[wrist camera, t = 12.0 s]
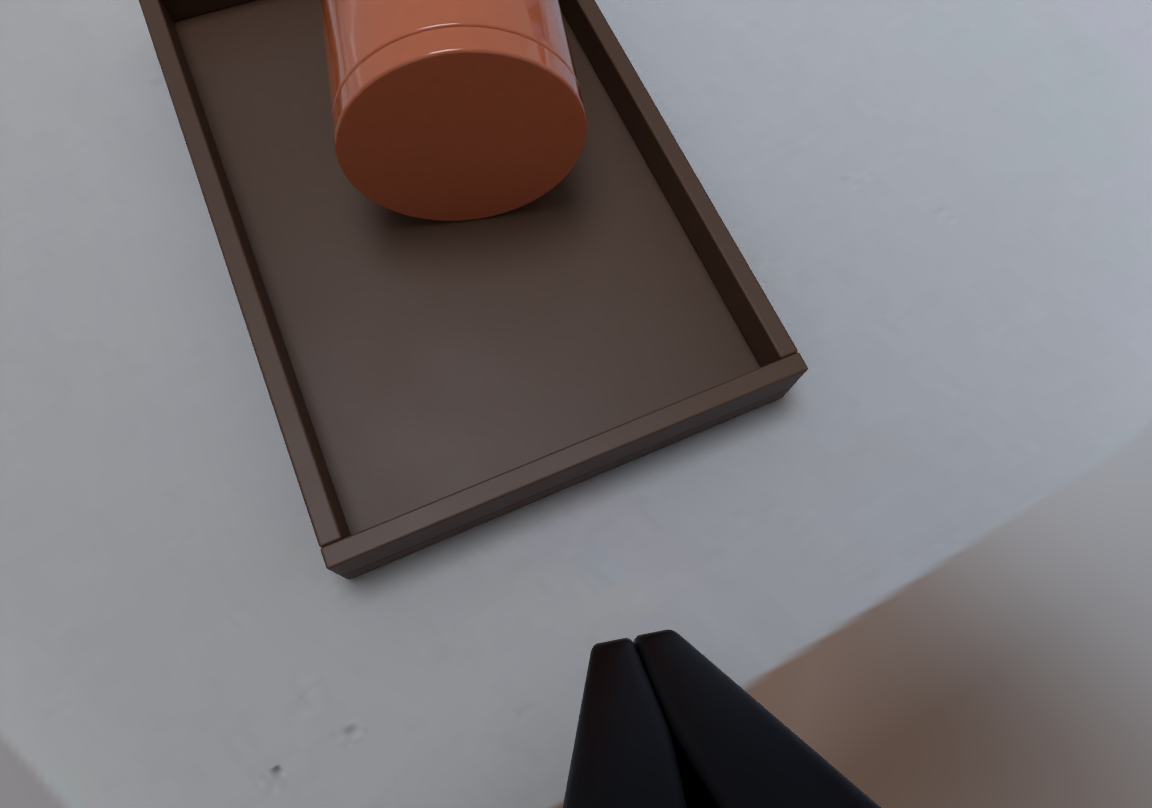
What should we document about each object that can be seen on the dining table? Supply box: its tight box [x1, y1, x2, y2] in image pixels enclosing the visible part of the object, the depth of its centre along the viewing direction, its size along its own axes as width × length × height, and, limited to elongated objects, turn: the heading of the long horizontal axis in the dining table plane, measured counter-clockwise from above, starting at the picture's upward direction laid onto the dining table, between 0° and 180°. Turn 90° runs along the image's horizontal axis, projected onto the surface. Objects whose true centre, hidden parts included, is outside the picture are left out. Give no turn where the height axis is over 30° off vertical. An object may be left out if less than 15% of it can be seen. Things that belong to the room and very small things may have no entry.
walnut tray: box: [139, 0, 808, 579], centre depth 24 cm, size 21×14×2 cm
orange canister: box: [320, 0, 588, 221], centre depth 23 cm, size 7×7×11 cm
